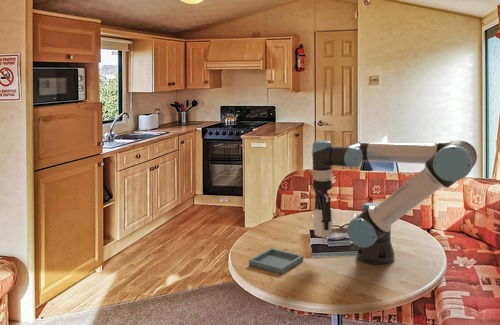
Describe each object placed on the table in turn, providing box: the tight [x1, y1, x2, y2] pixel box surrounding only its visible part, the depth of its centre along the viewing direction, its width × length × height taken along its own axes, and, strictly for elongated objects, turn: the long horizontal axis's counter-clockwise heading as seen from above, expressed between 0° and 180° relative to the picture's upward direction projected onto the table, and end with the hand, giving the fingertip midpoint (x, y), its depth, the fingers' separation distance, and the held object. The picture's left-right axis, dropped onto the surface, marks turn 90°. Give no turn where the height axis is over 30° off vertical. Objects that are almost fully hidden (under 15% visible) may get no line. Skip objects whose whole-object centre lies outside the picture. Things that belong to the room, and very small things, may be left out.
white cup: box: [312, 208, 334, 238], centre depth 194 cm, size 8×8×10 cm
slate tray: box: [248, 247, 304, 275], centre depth 195 cm, size 16×16×2 cm
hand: (322, 233), depth 195 cm, fingers closed on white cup, 8 cm apart
